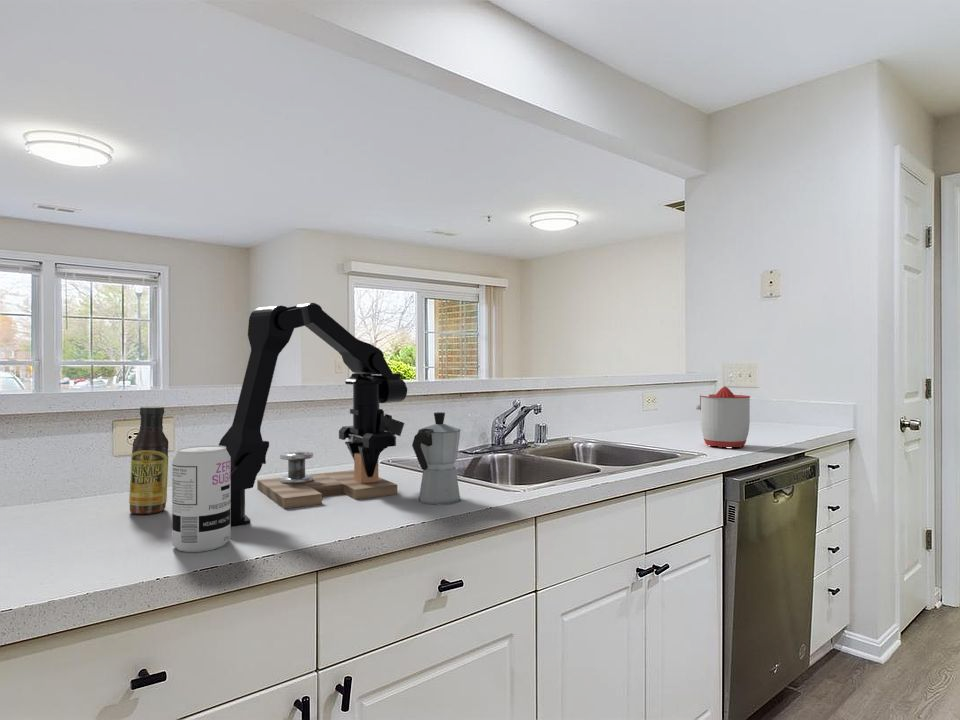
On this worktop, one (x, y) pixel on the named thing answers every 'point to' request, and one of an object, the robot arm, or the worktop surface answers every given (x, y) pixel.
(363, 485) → the board
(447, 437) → the coffee maker
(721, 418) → the citrus juicer
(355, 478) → the block
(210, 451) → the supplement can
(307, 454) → the bobbin
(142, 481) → the sauce bottle
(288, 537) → the worktop surface
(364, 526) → the worktop surface
